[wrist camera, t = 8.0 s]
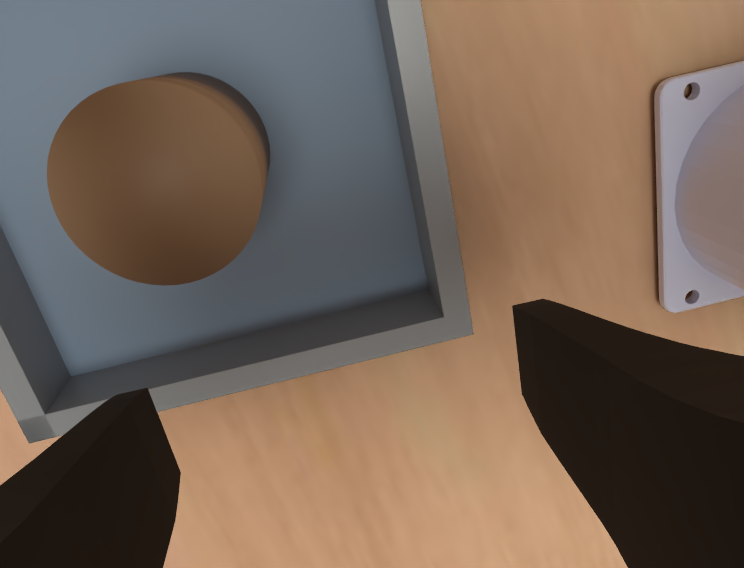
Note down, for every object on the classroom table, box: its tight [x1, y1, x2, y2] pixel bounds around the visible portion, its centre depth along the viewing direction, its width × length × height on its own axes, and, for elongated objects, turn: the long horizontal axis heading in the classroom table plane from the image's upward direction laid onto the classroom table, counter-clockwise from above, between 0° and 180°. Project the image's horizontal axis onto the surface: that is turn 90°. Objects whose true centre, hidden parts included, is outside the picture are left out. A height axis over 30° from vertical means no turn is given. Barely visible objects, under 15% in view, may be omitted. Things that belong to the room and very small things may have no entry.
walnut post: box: [47, 72, 270, 286], centre depth 15 cm, size 4×4×5 cm
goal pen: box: [0, 0, 474, 443], centre depth 17 cm, size 14×14×2 cm
